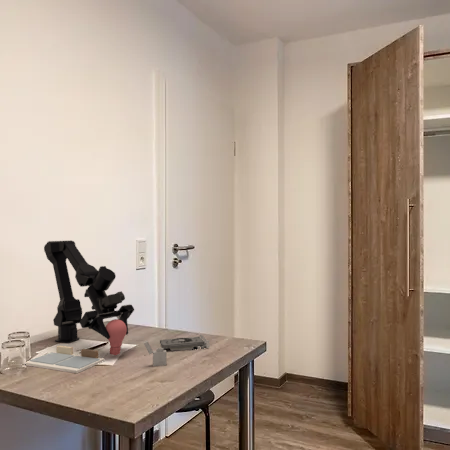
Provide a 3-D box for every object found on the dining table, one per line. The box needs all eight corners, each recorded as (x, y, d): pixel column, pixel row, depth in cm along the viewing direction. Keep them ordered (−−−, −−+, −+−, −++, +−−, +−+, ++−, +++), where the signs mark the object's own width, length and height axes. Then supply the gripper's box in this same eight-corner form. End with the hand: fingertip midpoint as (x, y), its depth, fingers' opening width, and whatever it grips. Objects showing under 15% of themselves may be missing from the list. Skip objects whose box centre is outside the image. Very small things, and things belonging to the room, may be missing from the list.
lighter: (165, 363, 144) (165, 338, 144) (166, 365, 143) (166, 339, 143) (143, 365, 143) (143, 340, 142) (143, 367, 141) (143, 341, 141)
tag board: (24, 365, 143) (24, 354, 143) (54, 353, 155) (54, 344, 155) (76, 373, 135) (76, 362, 135) (104, 360, 147) (104, 351, 147)
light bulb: (129, 352, 155) (129, 317, 155) (122, 358, 148) (122, 322, 148) (109, 351, 156) (109, 317, 156) (101, 357, 149) (101, 321, 149)
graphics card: (202, 332, 172) (209, 339, 161) (202, 342, 172) (210, 350, 161) (158, 336, 168) (162, 343, 156) (158, 346, 168) (162, 354, 156)
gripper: (84, 287, 147) (104, 326, 140) (131, 281, 161) (151, 317, 154) (71, 308, 153) (90, 347, 146) (117, 301, 167) (136, 336, 160)
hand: (118, 336), depth 151 cm, fingers closed on light bulb, 7 cm apart
